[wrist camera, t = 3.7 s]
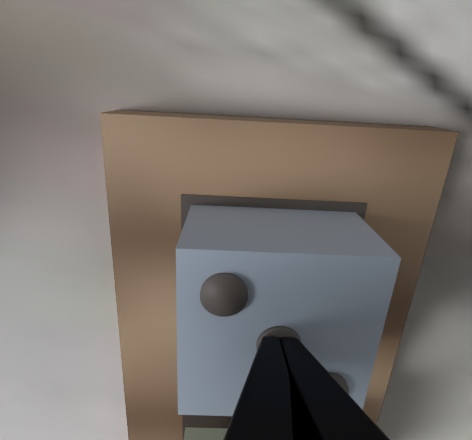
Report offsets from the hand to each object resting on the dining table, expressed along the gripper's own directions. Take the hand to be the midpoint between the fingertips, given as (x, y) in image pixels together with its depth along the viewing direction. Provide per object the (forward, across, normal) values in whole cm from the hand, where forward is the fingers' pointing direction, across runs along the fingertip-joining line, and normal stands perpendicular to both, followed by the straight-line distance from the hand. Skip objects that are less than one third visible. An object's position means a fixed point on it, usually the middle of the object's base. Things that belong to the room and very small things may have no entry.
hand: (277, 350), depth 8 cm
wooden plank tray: (+5, 0, +7) cm, 9 cm away
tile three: (+3, 0, 0) cm, 3 cm away
